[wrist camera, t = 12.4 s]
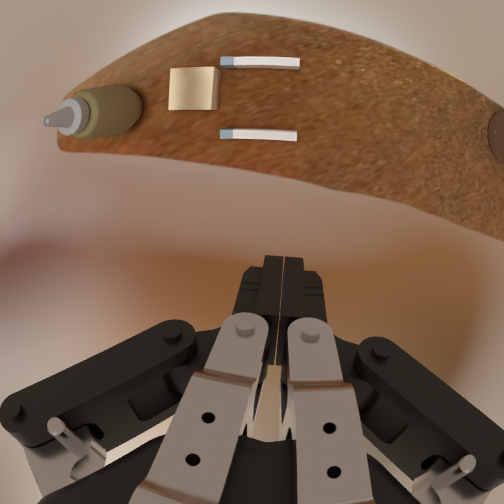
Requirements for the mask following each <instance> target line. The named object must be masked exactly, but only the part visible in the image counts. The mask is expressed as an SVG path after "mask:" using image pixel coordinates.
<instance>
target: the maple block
mask: <svg viewBox="0 0 504 504" xmlns="http://www.w3.org/2000/svg"><path fill="white" fill-rule="evenodd" d="M220 75H221V70H219V69H217V68H215V67H189V68H173V69H171V73H170V89H169V110H218V103H219V89H220Z"/></svg>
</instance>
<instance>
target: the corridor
mask: <svg viewBox="0 0 504 504" xmlns="http://www.w3.org/2000/svg"><path fill="white" fill-rule="evenodd" d="M221 66H223V67H224V68H226V69H229V68H276V69H295V70H299V66H300V58H288V57H233V56H232V57H221ZM232 138H239V139H269V140H287V141H297V131H294V130H278V129H254V128H224V129H221V130H220V139H232Z"/></svg>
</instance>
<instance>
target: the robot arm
mask: <svg viewBox="0 0 504 504" xmlns="http://www.w3.org/2000/svg"><path fill="white" fill-rule="evenodd" d="M488 138H489V144H490V147H491V150H492V152H493V154H494V156H495V157H496V158H497V159H498V160H500V161H502V162H504V111H499V112H497V113H495V114H494V115H493V117H492V119H491V121H490V124H489V129H488ZM282 270H283V256H270V255H265V259H264V265H263V267H252V266H251V267H250V268H249V269H248V270H246V271H245V272H244V274H243V277H242V281H241V284H240V288H239V292H238V295H237V299H236V302H235V306H234V309H233V313H232V315H231V316H229V317H228V318H227V319H226V320H225V321H224V322H223V324H222V326H221V327H220V328H217V329H214V330H207V331H198V332H195V329H194V328H193V326H192V325H191V324H189V323H188V322H186V321H182V320H167V321H164V322H161V323H159V324H157V325H155V326H153V327H151V328H149V329H147V330H145V331H143V332H142V333H139V334H137V335H135V336H133V337H131V338H129V339H127V340H125V341H123V342H121V343H119V344H117V345H115V346H113V347H111V348H109V349H107V350H105V351H103V352H101V353H99V354H96V355H94V356H93V357H90V358H88V359H86V360H84V361H82V362H80V363H78V364H76V365H74V366H72V367H69V368H67V369H65V370H63V371H61V372H59V373H57V374H54V375H52V376H50V377H48V378H46V379H44V380H42V381H39V382H37V383H35V384H33V385H31V386H29V387H26V388H24V389H22V390H20V391H18V392H16V393H13V394H11V395H9V396H8V397H7V398H6V399H5V400H4V401H3V403H2V404H1V407H0V422H1V424H2V426H3V427H4V428H5V429H6V430H7V431H8V432H9V433H10V434H11V435H12V436H13V437H15V438H16V439H17V440H18V442H19V443H20V444H21V445H22V446H23V448H24V451H25V454H26V457H27V460H28V462H29V465H30V468H31V470H32V473H33V475H34V478H35V480H36V483H37V485H38V487H39V490H40V492H41V494H42V496H43V498H42V499H41V500H40V501H39V503H38V504H483V503H484V501H485V500H486V498H487V496H488V495H489V493H490V491H492V490H493V489H494V488H496V487H497V486H499V485H501V484H502V483H504V430H503V429H502V428H500V427H499V426H498V425H497V424H496V423H494V422H493V421H492V420H491V419H489V418H488V417H487V416H486V415H484V414H483V413H482V412H481V411H480V410H478V409H477V408H476V407H475V406H473V405H472V404H471V403H469V402H468V401H467V400H466V399H465V398H463V397H462V396H461V395H460V394H458V393H457V392H456V391H455V390H453V389H452V388H451V387H450V386H448V385H447V384H446V383H445V382H443V381H442V380H441V379H440V378H438V377H437V376H436V375H434V374H433V373H432V372H431V371H429V370H428V369H427V368H426V367H424V366H423V365H422V364H420V363H419V362H418V361H417V360H415V359H414V358H413V357H411V356H410V355H409V354H408V353H406V352H405V351H404V350H402V349H401V348H400V347H399V346H397V345H396V344H395V343H394V342H392V341H390V340H388V339H386V338H382V337H369V338H367V339H365V340H363V341H362V342H361V343H360V345H357V344H354V343H350V342H347V341H344V340H342V339H340V338H338V337H336V336H335V335H334V334H333V331H332V329H331V327H330V326H329V325H328V324H327V317H326V309H325V300H324V293H323V285H322V279H321V278H320V276H319V275H318V274H317V273H316V272H315V271H304V263H303V258H297V257H285V262H284V273H283V284H282ZM281 284H282V294H281ZM280 297H281V307H280ZM279 311H280V320H279ZM278 321H279V332H278V345H277V356H276V365H281V366H282V369H281V378H280V384H279V389H280V390H279V392H280V432H279V433H280V434H279V441H276V442H262V441H259V440H256V439H253V438H252V433H253V428H254V423H255V419H256V415H257V411H258V407H259V403H260V398H261V394H262V390H263V385H264V380H265V378H266V375H267V369H268V365H274V358H275V348H276V340H277V331H278ZM174 414H175V415H174ZM172 415H174V417H173V419H172V422H171V424H170V426H169V428H168V431H167V433H166V434H165V435H162V436H159V437H156V438H154V439H152V440H149V441H148V442H146V443H144V444H143V445H141V446H140V447H138V448H136V449H134V450H133V451H131V452H129V453H128V454H126V455H124V456H122V457H121V458H119V459H118V460H116V461H114V462H112V463H110V464H108V465H106V466H105V467H104V464H105V460H106V452H108V451H110V450H112V449H114V448H115V447H117V446H119V445H121V444H123V443H125V442H127V441H129V440H130V439H132V438H134V437H136V436H138V435H139V434H141V433H143V432H145V431H147V430H148V429H150V428H152V427H154V426H155V425H157V424H159V423H160V422H162V421H164V420H166V419H167V418H169V417H170V416H172ZM363 435H364V436H365V437H366V438H367V439H368V440H369V441H370V442H371V443H372V444H374V446H375V447H377V448H378V449H379V450H380V451H381V452H382V453H383V454H384V455H385V456H386V457H387V458H388V459H389V460H390V461H391V462H393V463H394V464H395V465H396V466H397V467H398V468H399V469H400V470H401V471H403V472H404V473H405V474H406V475H407V476H408V477H409V478H410V479H411V480H413V481H414V482H413V485H412V492H411V493H410V492H409V491H408V490H407V489H406V488H405V487H404V486H403V485H402V484H401V483H400V482H398V480H397V479H396V478H395V477H393V476H392V474H391V473H390V472H389V471H387V469H386V468H385V467H384V466H383V465H382V464H380V462H379V461H377V460H376V459H375V458H373V457H372V456H371V455H369V454H367V453H366V449H365V443H364V438H363Z"/></svg>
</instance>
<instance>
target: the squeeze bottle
mask: <svg viewBox="0 0 504 504" xmlns="http://www.w3.org/2000/svg"><path fill="white" fill-rule="evenodd" d="M141 113H142V101H141V99H140V97H139V96H138V95H137V94H136V93H135V92H134V91H133V90H131V89H130V88H128V87H127V86H125V85H117V84H115V85H108V86H102V87H96V88H91V89H85V90H81V91H79V92H77V93H75V94H74V95H73V96H72V97H71V98H68V99H66V100H64V101H63V102H62V103H61V104H60V106H59V107H58V110H57V111H56V112H54V113H52V114H50V115H48V116H47V117H45V119H44V125H45V126H49V127H57V128H58V129H59V131H60V132H61V133H62V134H63V135H68V136H69V135H72V136H73V137H74V138H77V139H89V138H98V137H108V136H117V135H120V134H123V133H125V132H126V131H127V130H128V129H129V128H130V127H131V126H132V125H133V124H134V123H135V122H137V121H138V119H139V117H140V115H141Z"/></svg>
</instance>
